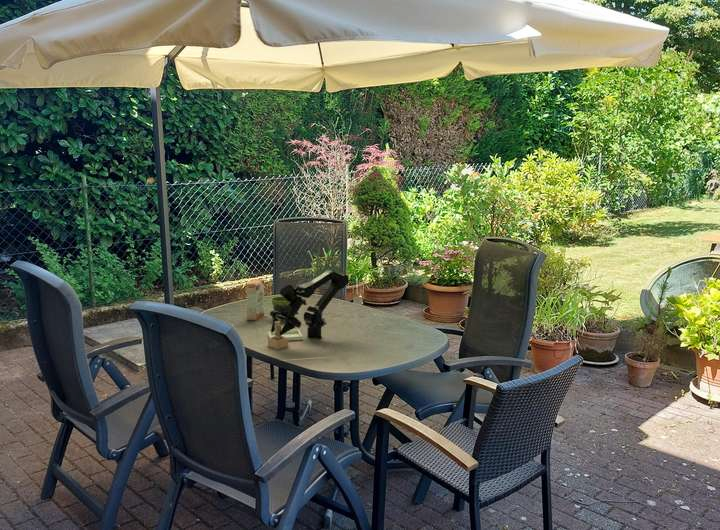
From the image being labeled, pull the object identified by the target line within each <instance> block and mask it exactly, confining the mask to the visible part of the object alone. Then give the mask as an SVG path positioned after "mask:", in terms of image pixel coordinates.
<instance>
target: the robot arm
mask: <svg viewBox="0 0 720 530" xmlns="http://www.w3.org/2000/svg"><path fill="white" fill-rule="evenodd" d="M349 279H350V278H349V276H348V275H347V274H344V273H339V272H336V271H333V270H330V269H327V270H325V272H323V273H322V274H320V275H319V276H317V277H315V278H314V279H312V280H311V281H309V282H305V283H302V284H299V285H297V287H293V285H292V284H287V285H286V286H284V287H282V288H281V289H280V291H279V294H280V297H283V298H284V299H285V300H286V301H288V302H290V303H289V304H288V305H284V306H281V305H278V304H276V306H275V309H274V308H273V310H271V311H270V313H269V316H270V317H271V318H272V326H271V329H270V331H271V332H274V331H275V322H276V321H280V322H281V325H282V324H283V323H282V322H283V321H284V324H283V326H282V327H281V332H280V334H279V335H283V334H284V333H286V332H288V331H289V330H294V329H296V328H297V329H300V328H301V326H302V322H301V320H299V318H298V317H296V316H297V315H299V310H300V308H301V307H302V306H307V302H306V301H307V300H306V299H309V298H310V297H312V296H313V295H314V294H315V292H316V290H317V289H319V288H320V287H321V286H323V285H325V284H326V283H327V282H329V281H330V285H329V286H328V288H327V289H326V290H325V292H324V293H323V294H322V295H321V297H320V298H319V300H317V302H316V304H315V305H313V306H310V305H309V306H307V309H306V310H305V311H304V314H303V321H304V322H305V325H307V328H306V334H307V335H306V336H307V337H308V338H309V339H316V340H317V339H322V338H323V336H322V327H324V325H325V323H324V321H323V320H322V319H321V318H323V313H324V312H323V311H324V310H325V309H326V308H327V306H328V305H329V304H330V302H332V300H333V298H334V297H335V296H336V294H338V292H339V291H340V290H342V289H344V288H345V287H346V286H347V285H348V284H349V283H350V280H349ZM304 298H305V299H304ZM274 310H275V311H274ZM277 311H278V312H279V313H280V314H279V313H278V312H277Z"/></svg>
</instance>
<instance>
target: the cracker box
mask: <svg viewBox="0 0 720 530" xmlns="http://www.w3.org/2000/svg"><path fill="white" fill-rule="evenodd" d="M246 312H247V313H246V315H247V316H246V319H247V320H248V321H257V320H258V319H260V318H262V316H264V315H265V280H264V279H261V278H260V279H259V278H255V279H253V280H251V281H249V282H248V283H246ZM263 314H264V315H263Z"/></svg>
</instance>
